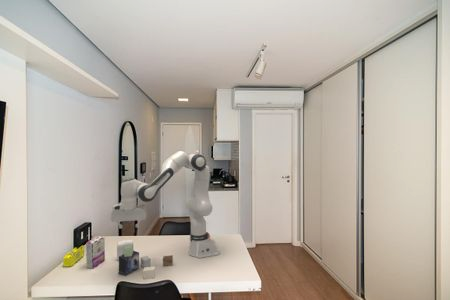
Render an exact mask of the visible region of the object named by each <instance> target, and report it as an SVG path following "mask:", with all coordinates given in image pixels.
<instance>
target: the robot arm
mask: <svg viewBox="0 0 450 300" xmlns="http://www.w3.org/2000/svg"><path fill="white" fill-rule="evenodd" d="M183 167H185V168H186V169H189V170H193V171H194V177H193V178H194V180H193V188H192V190H193V192H194V196H195V197H194V196H192V197H188V198H187V199H186V202H185V203H184V204H185V208H186V211H187V212H188V216H189V221H190V233H189V240H190V243H189V249H188V255H189V256H192V257H196V258H198V259H202V258H208V257H209V258H210V257H213V256H219V255H220V253H221V252H220V250H221V249H220V248H219V247H218V246H217V243H216V241H215V240H214V239H213V238H211V235H210V233H209V232H208V231H207V221H206V219H205V218H204V217H208V216H210V215H211V213H212V212H213V205H212V203H211V199H210V195H209V187H210V178H211V173H210V172H211V171H210V167H209V165H207V161H206V158H205V156H204V155H202V154H199V153H191V154H190V153H188V154H187V152H185V151H183V150H179V151H176V152H175V153H173V154H172V155H171V156H170V157H167V159H166V160H165V161H164V162H163V163H162V164H161V173H160V174H159V175H157V177H156V178H154V180H153V181H152V182H150V183H146V182H144V181H140V180H138V179H136V178H135V177H134V178H132V177H131V178H126V179H124V180H122V182H121V187H120V195H121V200H120V202H118V203H116V204H114V205H112V211H111V213H110V221H111V222H112V223H114V222H115V223H117V226H118V229H123V224H121V222H135V221H137V223H136V224H135V228H136V229H137V228H139V224H140V222H141V221H145V220H146V219H147V206H146V205H145V204H138V203H137V199H140V201H142V202H144V203H146V202H147V203H148V202H151V201H153V200H154V199H155V198H156V196H157V194H158V193H159V191H160V190H161V189H162V188H163V187H164V186H165V184H167V183H168V182H169V180H170V179H172V178H173V177H174V175H175V174H177V173H178V172H179V171H180V170H181V169H182V168H183Z"/></svg>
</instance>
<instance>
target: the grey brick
mask: <svg viewBox="0 0 450 300" xmlns="http://www.w3.org/2000/svg"><path fill="white" fill-rule="evenodd" d="M140 267H142V268H143V269H144V267H151V258H150V257H149V256H148V255H145V256H141V257H140Z"/></svg>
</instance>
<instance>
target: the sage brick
mask: <svg viewBox="0 0 450 300" xmlns="http://www.w3.org/2000/svg"><path fill="white" fill-rule="evenodd" d="M133 251H134V243H133V244H127V245H126V247H125V248H124V257H129V256H132V254H133Z"/></svg>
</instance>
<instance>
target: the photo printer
mask: <svg viewBox="0 0 450 300" xmlns="http://www.w3.org/2000/svg"><path fill="white" fill-rule="evenodd" d="M127 244H133V245H134V241H133V240H132V239H126V240H121V241H119V242H117V246H116V260H117V262H119V256H121V255H123V254H124V248H125V247H126V245H127Z"/></svg>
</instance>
